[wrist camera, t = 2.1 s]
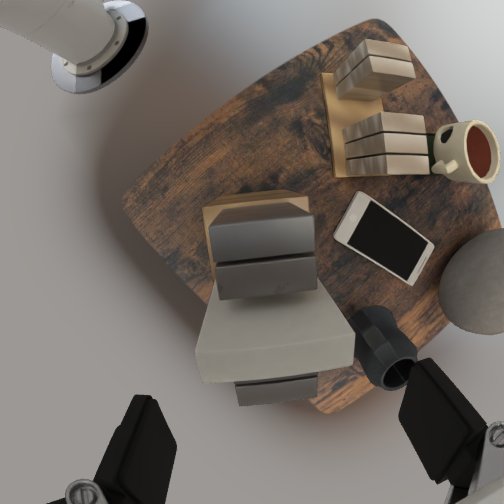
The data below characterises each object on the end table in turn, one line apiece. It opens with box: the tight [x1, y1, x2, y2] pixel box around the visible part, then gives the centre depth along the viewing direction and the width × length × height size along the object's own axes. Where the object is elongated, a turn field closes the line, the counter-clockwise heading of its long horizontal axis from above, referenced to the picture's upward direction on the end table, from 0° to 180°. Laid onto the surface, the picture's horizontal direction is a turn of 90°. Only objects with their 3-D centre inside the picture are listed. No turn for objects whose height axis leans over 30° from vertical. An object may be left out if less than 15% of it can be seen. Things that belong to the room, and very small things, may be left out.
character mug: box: [417, 120, 500, 184], centre depth 27 cm, size 11×7×13 cm, turn 123°
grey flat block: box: [195, 278, 355, 383], centre depth 17 cm, size 2×7×11 cm, turn 96°
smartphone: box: [333, 191, 434, 286], centre depth 35 cm, size 7×16×1 cm, turn 62°
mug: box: [348, 306, 418, 391], centre depth 34 cm, size 12×9×11 cm
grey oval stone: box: [438, 228, 504, 335], centre depth 28 cm, size 18×7×19 cm, turn 132°
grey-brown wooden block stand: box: [320, 39, 430, 178], centre depth 26 cm, size 14×8×12 cm, turn 6°
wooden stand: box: [202, 189, 318, 406], centre depth 25 cm, size 12×8×22 cm, turn 6°
